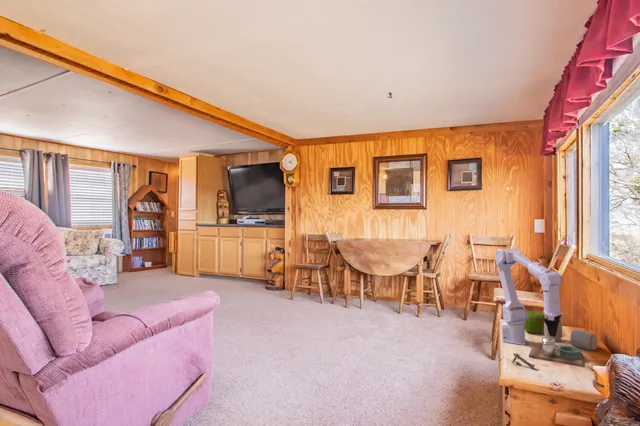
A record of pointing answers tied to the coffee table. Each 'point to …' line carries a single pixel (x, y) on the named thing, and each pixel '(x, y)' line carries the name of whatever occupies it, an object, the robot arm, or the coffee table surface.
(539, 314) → the apple
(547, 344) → the clear glass jar
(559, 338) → the carving
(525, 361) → the wooden post with brackets
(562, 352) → the board
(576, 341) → the grey cylinder
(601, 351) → the coffee table surface
